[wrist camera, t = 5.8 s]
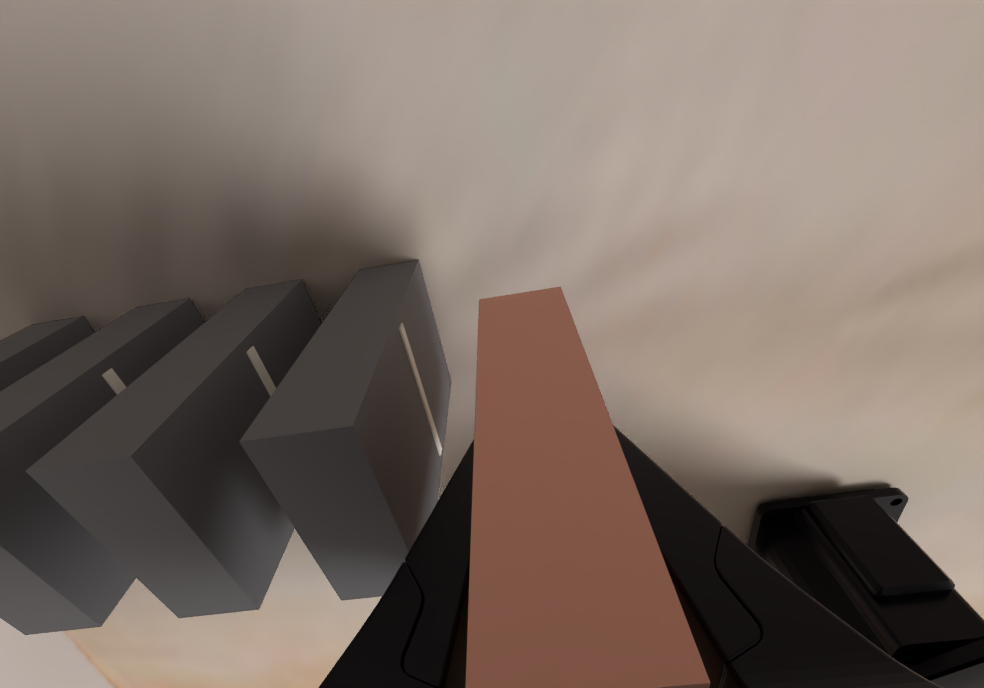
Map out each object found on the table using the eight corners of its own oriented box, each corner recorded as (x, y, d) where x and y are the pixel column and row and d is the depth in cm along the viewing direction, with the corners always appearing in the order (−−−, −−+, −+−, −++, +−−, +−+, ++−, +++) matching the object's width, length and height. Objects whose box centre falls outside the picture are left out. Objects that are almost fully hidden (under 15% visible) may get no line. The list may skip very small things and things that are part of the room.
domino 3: (353, 396, 17) (261, 609, 10) (302, 403, 17) (176, 618, 10) (303, 279, 14) (132, 456, 7) (244, 288, 14) (22, 471, 7)
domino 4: (257, 410, 17) (103, 626, 10) (208, 417, 17) (23, 635, 10) (191, 297, 14) (-74, 485, 8) (134, 307, 15) (-176, 499, 8)
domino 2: (452, 381, 16) (428, 591, 10) (399, 389, 17) (339, 600, 10) (420, 259, 14) (355, 425, 7) (358, 270, 14) (235, 442, 7)
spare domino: (576, 438, 13) (680, 840, 6) (507, 447, 13) (530, 848, 6) (562, 286, 10) (717, 681, 3) (477, 300, 10) (458, 704, 4)
